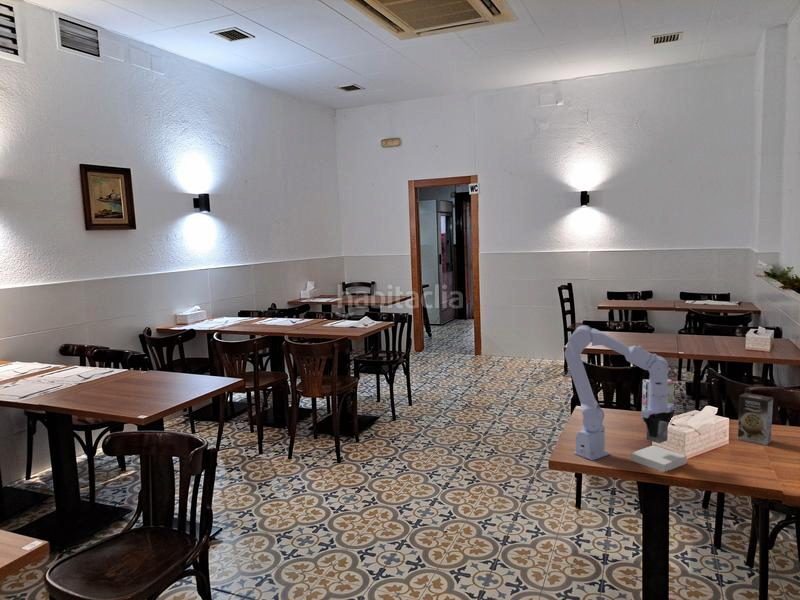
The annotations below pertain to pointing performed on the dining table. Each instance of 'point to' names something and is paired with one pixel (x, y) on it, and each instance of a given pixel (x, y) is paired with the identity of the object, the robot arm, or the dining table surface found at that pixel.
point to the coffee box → (755, 418)
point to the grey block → (660, 433)
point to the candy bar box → (646, 393)
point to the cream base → (658, 458)
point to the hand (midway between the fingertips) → (657, 434)
